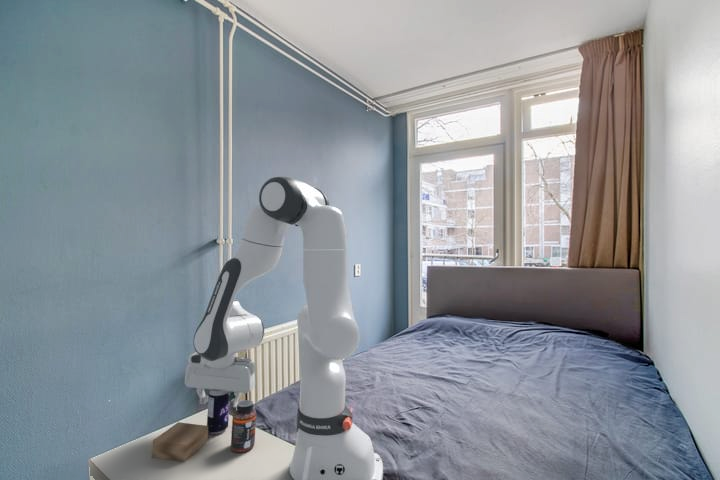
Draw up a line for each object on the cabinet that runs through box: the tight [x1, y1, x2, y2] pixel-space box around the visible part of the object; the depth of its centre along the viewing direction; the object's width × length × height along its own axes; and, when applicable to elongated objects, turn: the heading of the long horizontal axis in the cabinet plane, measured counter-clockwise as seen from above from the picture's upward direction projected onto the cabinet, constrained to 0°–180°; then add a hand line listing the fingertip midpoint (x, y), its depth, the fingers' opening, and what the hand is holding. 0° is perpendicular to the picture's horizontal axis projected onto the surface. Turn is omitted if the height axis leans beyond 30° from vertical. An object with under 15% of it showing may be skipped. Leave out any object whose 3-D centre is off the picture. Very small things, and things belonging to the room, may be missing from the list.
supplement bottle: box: [230, 399, 257, 453], centre depth 85 cm, size 6×6×11 cm
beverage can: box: [206, 389, 231, 435], centre depth 93 cm, size 6×6×12 cm
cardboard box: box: [151, 421, 209, 463], centre depth 83 cm, size 9×9×4 cm
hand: (218, 404), depth 93 cm, fingers open, 8 cm apart
